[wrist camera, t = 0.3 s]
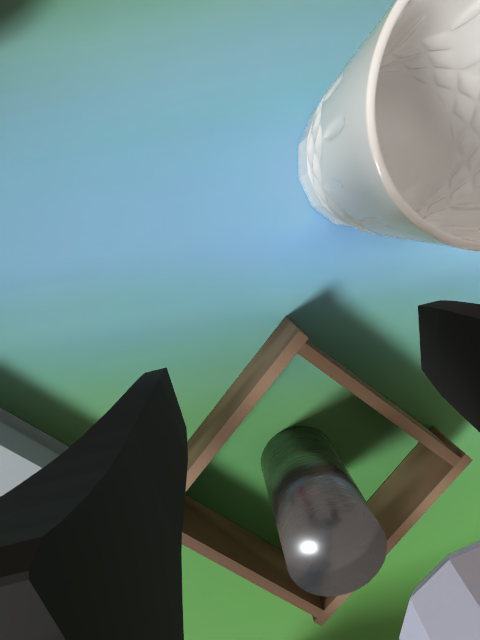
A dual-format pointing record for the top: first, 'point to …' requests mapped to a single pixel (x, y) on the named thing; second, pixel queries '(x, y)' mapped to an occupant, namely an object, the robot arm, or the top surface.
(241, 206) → the top surface
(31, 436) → the slate tray
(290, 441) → the metal tin
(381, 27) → the white cup
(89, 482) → the robot arm
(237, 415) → the walnut box
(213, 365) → the top surface
